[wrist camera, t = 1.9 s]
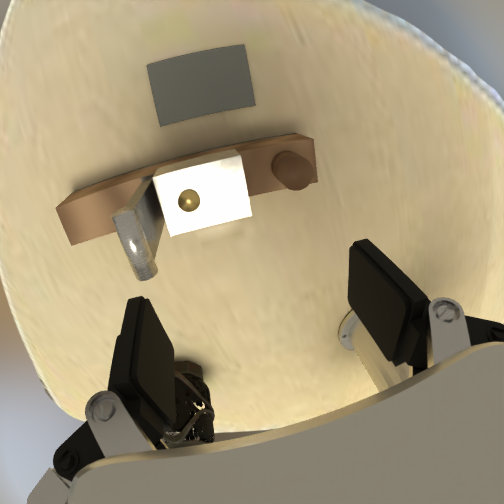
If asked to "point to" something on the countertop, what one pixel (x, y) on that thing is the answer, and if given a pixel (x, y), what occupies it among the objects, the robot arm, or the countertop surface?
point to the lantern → (191, 408)
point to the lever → (141, 229)
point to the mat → (201, 84)
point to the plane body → (252, 154)
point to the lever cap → (202, 191)
